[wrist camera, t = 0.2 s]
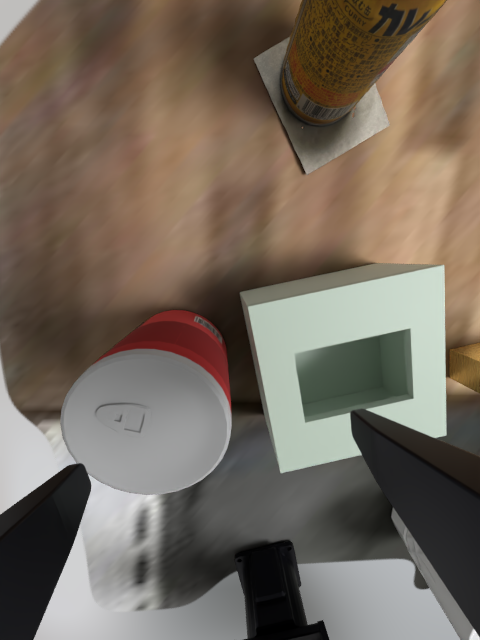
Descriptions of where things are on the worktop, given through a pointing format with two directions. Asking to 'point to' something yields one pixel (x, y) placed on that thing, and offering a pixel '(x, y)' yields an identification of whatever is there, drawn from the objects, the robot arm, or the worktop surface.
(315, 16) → the condiment
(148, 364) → the canned food
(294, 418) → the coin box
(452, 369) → the yellow block
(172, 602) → the worktop surface
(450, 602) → the white cup
